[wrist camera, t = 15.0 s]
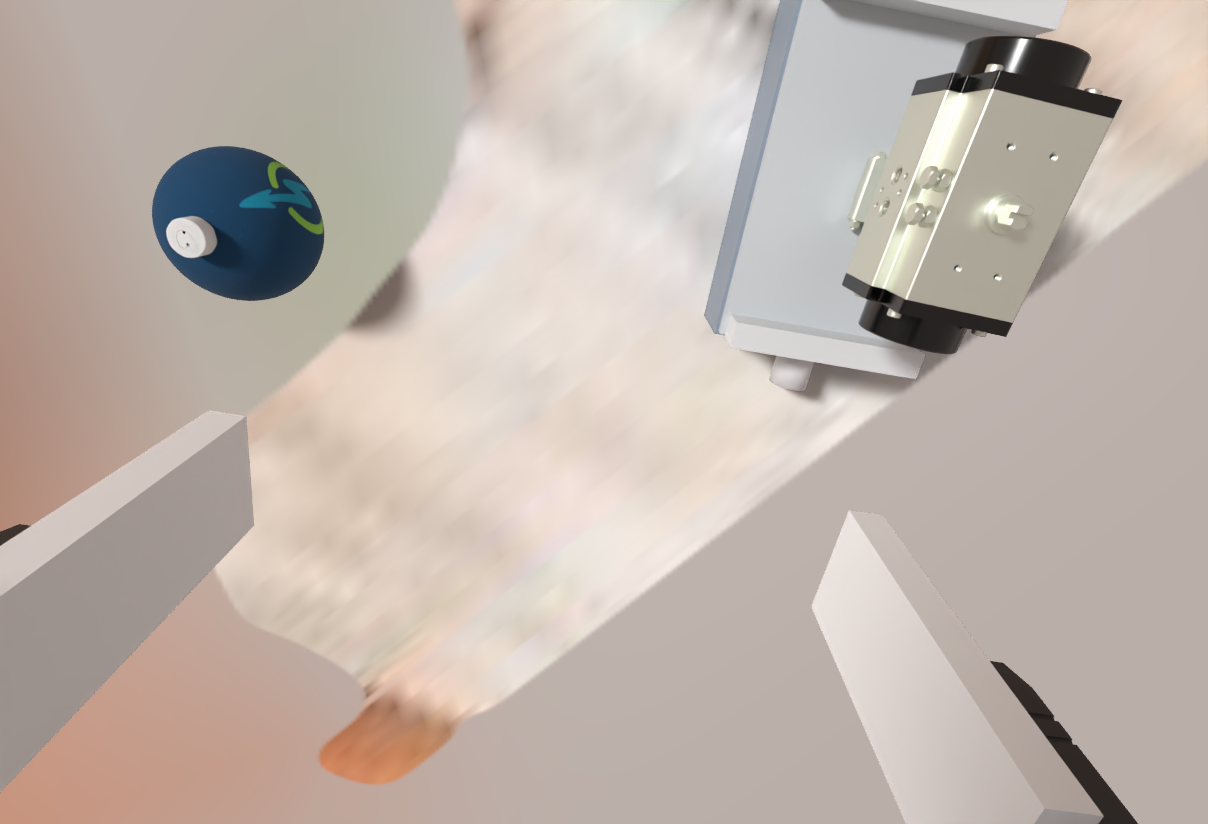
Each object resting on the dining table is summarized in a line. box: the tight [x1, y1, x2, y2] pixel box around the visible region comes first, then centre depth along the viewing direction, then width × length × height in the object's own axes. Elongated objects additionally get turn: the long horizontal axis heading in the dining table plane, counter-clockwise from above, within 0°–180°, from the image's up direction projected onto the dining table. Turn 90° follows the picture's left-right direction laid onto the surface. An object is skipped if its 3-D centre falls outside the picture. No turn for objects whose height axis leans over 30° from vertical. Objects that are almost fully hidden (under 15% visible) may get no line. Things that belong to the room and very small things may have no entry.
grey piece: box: [704, 0, 1068, 391], centre depth 35 cm, size 22×12×7 cm, turn 170°
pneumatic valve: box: [842, 36, 1122, 354], centre depth 27 cm, size 6×12×12 cm, turn 168°
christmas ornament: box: [152, 146, 324, 301], centre depth 34 cm, size 8×8×10 cm
